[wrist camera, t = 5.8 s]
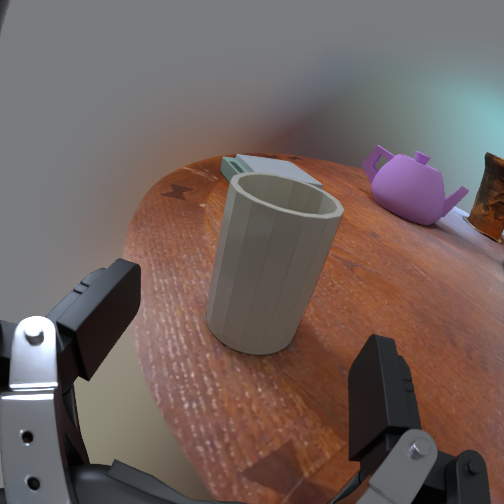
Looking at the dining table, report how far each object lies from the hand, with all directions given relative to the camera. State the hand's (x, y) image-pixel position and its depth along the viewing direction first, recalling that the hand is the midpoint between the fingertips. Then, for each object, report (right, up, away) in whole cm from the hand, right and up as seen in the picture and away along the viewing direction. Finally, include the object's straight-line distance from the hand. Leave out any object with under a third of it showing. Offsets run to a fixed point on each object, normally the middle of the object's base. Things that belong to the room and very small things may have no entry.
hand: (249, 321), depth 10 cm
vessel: (+62, +8, +55) cm, 83 cm away
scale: (+2, +12, +36) cm, 38 cm away
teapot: (+30, +10, +46) cm, 56 cm away
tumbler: (0, -2, +10) cm, 10 cm away
